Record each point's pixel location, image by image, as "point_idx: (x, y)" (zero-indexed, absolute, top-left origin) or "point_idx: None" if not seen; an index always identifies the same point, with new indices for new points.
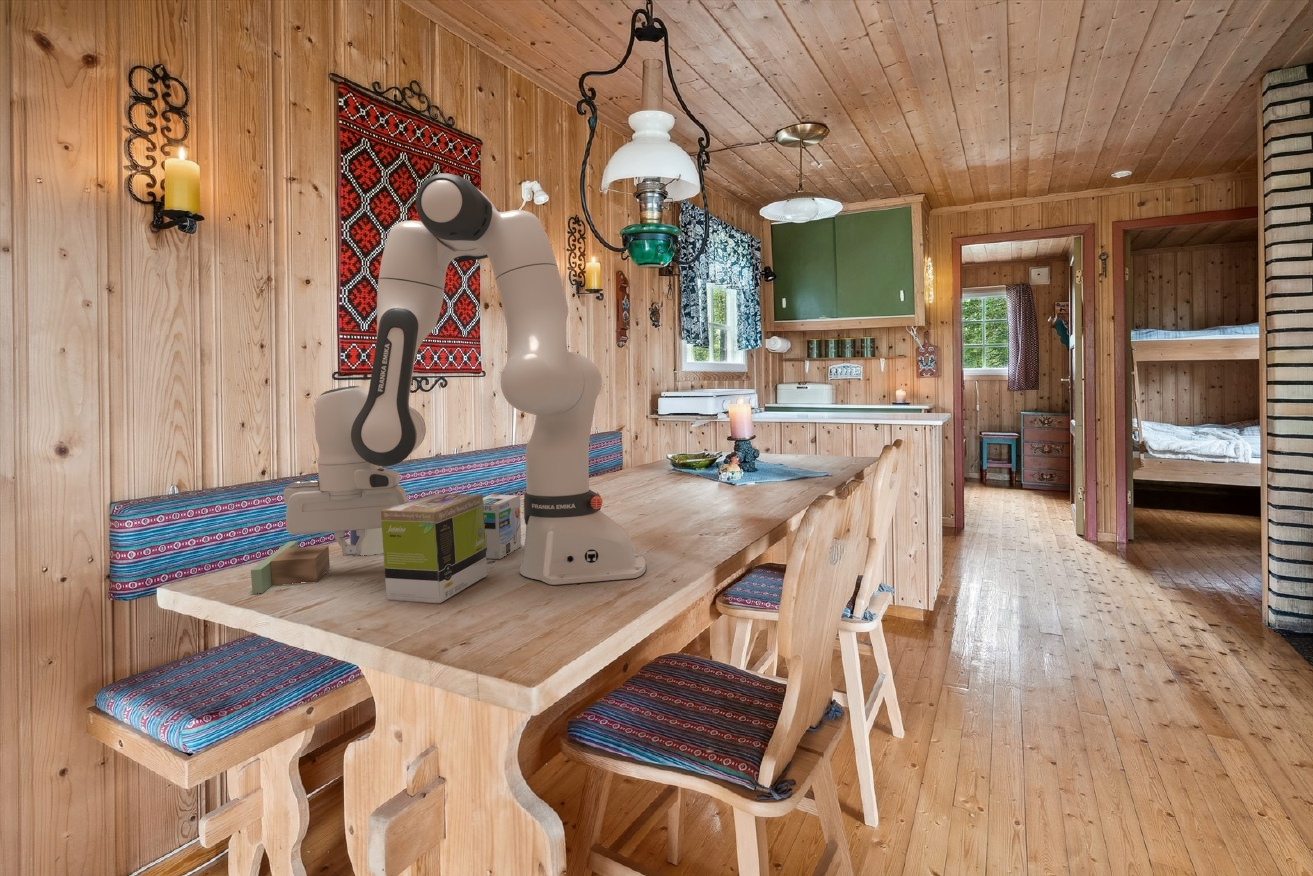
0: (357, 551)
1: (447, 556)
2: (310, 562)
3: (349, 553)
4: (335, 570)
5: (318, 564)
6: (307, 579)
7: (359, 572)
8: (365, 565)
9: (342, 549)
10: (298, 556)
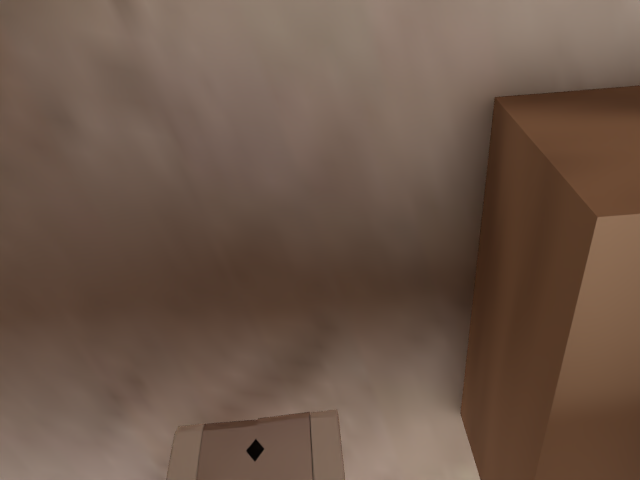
0: (191, 445)
1: None
2: (635, 183)
3: (272, 427)
4: (413, 372)
5: (533, 254)
6: (587, 105)
7: (219, 311)
8: None
9: (338, 461)
10: None
